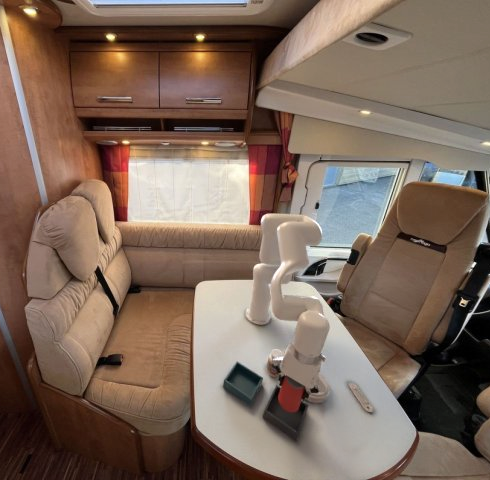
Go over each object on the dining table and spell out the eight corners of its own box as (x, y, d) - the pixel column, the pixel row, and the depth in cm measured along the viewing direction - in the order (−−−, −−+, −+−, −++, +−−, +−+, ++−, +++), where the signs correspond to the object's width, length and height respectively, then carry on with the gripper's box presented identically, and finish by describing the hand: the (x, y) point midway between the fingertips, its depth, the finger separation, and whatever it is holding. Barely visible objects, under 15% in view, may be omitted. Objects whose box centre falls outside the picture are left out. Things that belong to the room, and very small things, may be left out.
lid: (283, 377, 93) (286, 369, 91) (308, 367, 97) (311, 359, 95) (308, 409, 82) (311, 401, 80) (334, 397, 86) (338, 388, 84)
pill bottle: (263, 371, 95) (267, 354, 91) (270, 361, 99) (273, 345, 95) (277, 380, 92) (281, 363, 87) (283, 370, 95) (287, 353, 91)
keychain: (375, 411, 81) (367, 411, 81) (374, 412, 82) (366, 412, 81) (354, 381, 91) (347, 382, 91) (354, 382, 91) (346, 383, 91)
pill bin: (236, 367, 96) (236, 361, 94) (261, 384, 90) (263, 377, 88) (223, 386, 89) (223, 380, 87) (250, 406, 83) (251, 399, 81)
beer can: (300, 415, 74) (309, 392, 69) (279, 411, 75) (286, 387, 70) (296, 394, 80) (304, 371, 75) (276, 390, 81) (283, 367, 76)
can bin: (274, 391, 88) (276, 384, 86) (305, 411, 82) (308, 404, 80) (262, 417, 80) (264, 410, 78) (296, 442, 74) (299, 435, 72)
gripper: (341, 358, 65) (324, 397, 73) (279, 328, 75) (270, 365, 82) (336, 378, 60) (319, 418, 67) (270, 343, 69) (261, 382, 77)
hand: (292, 389), depth 75 cm, fingers closed on beer can, 6 cm apart
